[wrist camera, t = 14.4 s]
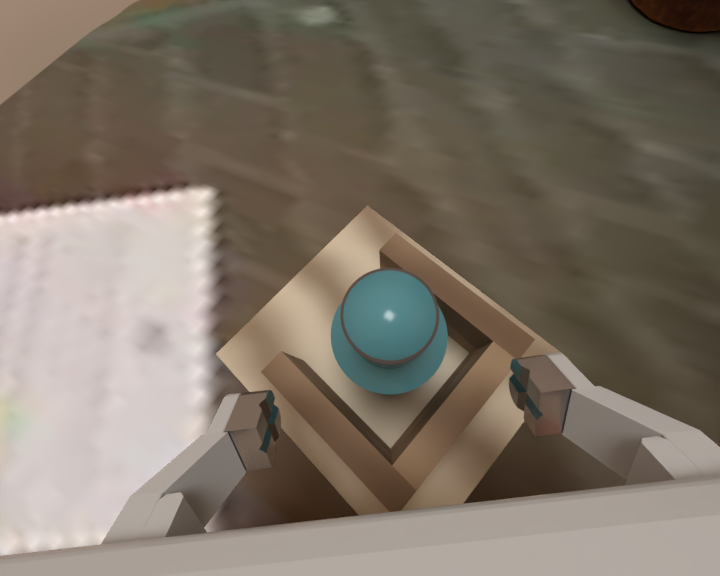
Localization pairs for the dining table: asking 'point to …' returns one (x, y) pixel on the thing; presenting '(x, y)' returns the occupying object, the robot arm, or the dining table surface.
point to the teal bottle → (389, 332)
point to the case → (683, 13)
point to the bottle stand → (387, 411)
